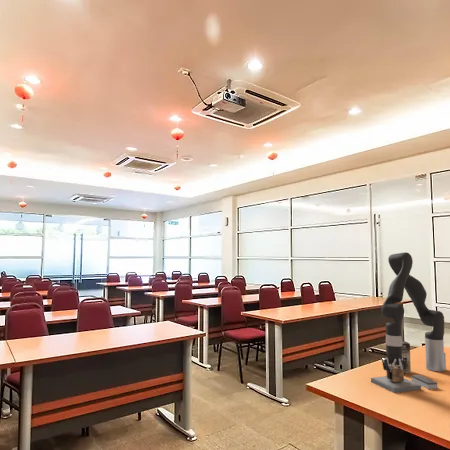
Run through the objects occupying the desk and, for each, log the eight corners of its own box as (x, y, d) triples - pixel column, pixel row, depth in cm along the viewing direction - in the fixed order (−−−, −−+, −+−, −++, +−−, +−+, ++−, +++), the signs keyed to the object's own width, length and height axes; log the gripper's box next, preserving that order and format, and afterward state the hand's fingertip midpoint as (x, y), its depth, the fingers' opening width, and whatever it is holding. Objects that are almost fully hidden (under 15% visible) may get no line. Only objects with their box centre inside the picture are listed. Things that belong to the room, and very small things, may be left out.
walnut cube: (395, 377, 186) (395, 366, 186) (403, 381, 180) (403, 369, 181) (386, 378, 184) (386, 367, 185) (394, 382, 179) (394, 370, 179)
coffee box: (394, 372, 202) (392, 343, 204) (389, 369, 209) (388, 340, 210) (411, 373, 201) (410, 343, 203) (406, 369, 208) (405, 341, 209)
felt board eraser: (411, 381, 189) (411, 375, 189) (420, 381, 190) (419, 374, 190) (428, 389, 177) (427, 383, 178) (437, 389, 178) (437, 382, 178)
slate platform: (396, 378, 192) (396, 374, 192) (421, 389, 177) (420, 385, 177) (371, 381, 187) (370, 377, 187) (394, 393, 172) (394, 388, 172)
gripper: (399, 341, 189) (401, 375, 188) (376, 343, 185) (378, 377, 184) (411, 344, 182) (412, 379, 181) (387, 346, 178) (388, 382, 177)
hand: (395, 378), depth 182 cm, fingers closed on walnut cube, 5 cm apart
